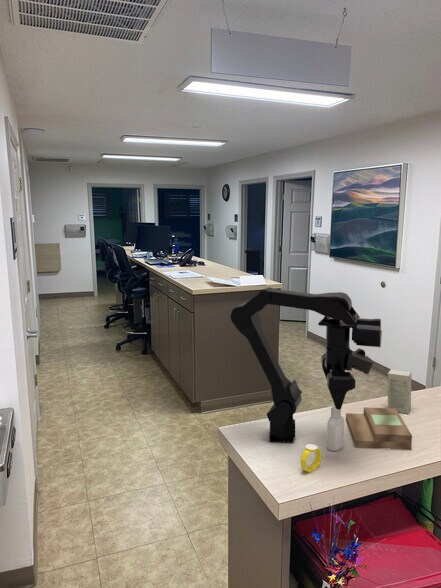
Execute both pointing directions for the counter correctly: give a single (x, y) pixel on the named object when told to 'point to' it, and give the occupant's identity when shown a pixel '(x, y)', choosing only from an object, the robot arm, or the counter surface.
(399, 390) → the skincare box
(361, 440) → the step riser
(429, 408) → the counter surface
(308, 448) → the watch
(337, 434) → the eye dropper bottle
